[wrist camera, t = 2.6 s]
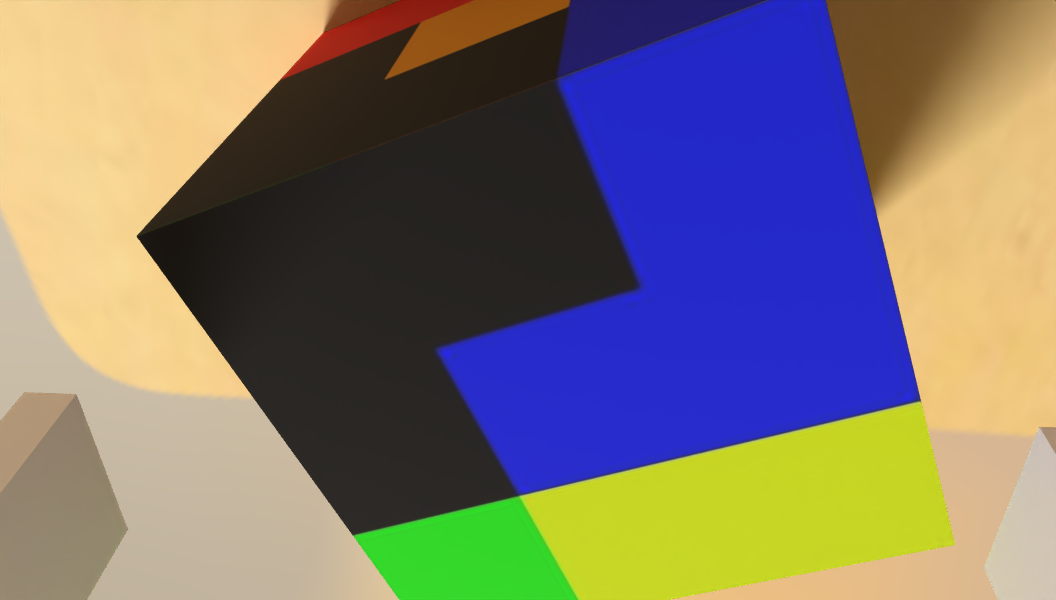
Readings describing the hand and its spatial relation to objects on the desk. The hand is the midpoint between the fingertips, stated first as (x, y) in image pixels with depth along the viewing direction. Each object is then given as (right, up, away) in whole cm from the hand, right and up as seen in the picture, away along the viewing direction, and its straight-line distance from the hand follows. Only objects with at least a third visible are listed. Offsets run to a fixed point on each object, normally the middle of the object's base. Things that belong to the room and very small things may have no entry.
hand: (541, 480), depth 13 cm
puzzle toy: (+1, +7, +10) cm, 12 cm away
